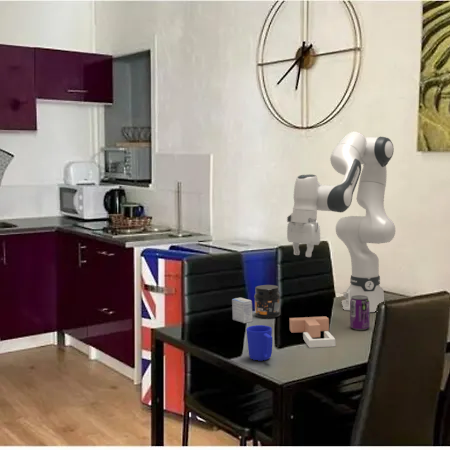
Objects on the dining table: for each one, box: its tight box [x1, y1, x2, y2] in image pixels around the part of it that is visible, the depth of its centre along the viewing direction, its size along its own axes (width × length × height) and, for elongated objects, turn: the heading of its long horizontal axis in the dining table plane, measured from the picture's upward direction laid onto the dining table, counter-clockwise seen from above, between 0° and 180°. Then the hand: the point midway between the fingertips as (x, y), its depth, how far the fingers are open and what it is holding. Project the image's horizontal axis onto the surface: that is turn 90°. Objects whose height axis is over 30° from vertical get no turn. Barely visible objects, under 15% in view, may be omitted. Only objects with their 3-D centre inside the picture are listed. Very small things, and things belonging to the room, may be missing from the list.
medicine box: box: [231, 297, 253, 324], centre depth 260 cm, size 8×4×9 cm, turn 34°
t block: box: [288, 315, 330, 339], centre depth 239 cm, size 12×14×4 cm
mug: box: [246, 324, 273, 362], centre depth 209 cm, size 8×12×10 cm
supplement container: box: [253, 284, 281, 319], centre depth 267 cm, size 10×10×12 cm
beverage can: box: [349, 295, 371, 331], centre depth 243 cm, size 7×7×12 cm
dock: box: [302, 330, 336, 349], centre depth 227 cm, size 10×9×2 cm
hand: (302, 255), depth 240 cm, fingers open, 8 cm apart
